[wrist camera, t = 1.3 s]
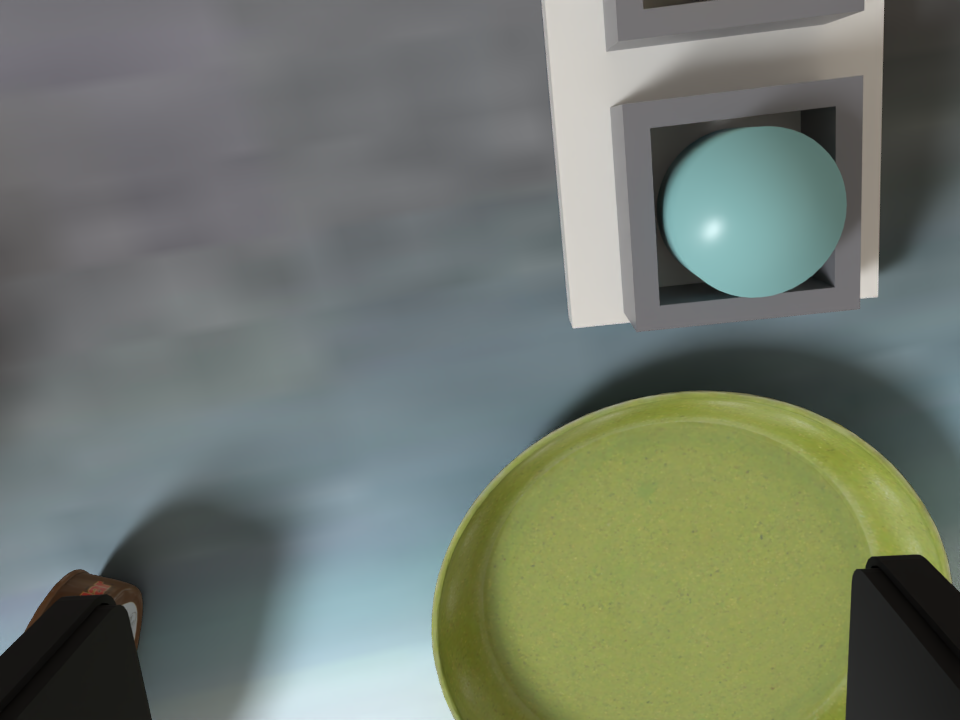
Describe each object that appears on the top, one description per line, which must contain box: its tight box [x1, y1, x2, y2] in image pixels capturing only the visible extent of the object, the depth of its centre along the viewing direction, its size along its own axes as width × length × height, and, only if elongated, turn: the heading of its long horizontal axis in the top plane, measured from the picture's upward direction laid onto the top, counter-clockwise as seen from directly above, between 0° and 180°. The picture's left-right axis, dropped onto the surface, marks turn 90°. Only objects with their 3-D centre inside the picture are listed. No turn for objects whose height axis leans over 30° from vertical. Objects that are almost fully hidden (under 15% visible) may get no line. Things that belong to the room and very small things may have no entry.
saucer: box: [432, 391, 952, 720], centre depth 33 cm, size 21×21×3 cm
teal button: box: [657, 126, 847, 298], centre depth 25 cm, size 5×5×3 cm
